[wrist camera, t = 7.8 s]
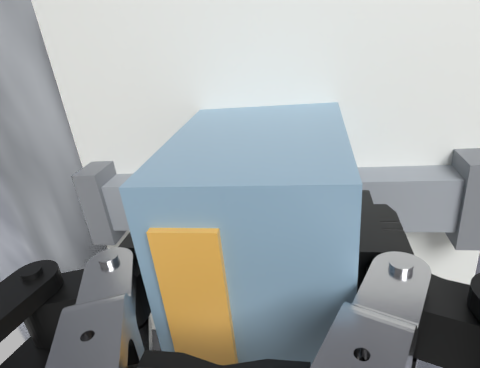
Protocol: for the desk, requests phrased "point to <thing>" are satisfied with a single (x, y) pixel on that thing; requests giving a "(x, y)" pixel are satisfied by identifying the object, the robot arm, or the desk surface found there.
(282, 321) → the block
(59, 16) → the rail plate
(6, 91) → the desk surface
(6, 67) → the desk surface
